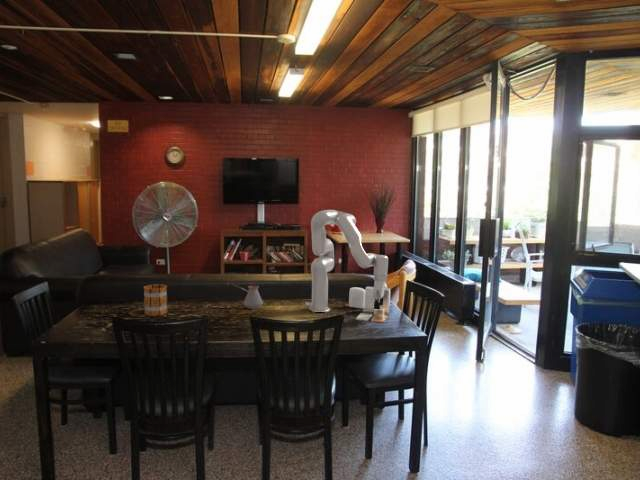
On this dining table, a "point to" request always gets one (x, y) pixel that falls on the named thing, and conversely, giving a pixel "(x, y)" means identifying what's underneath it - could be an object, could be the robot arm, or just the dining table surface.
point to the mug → (155, 299)
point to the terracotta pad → (379, 319)
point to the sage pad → (364, 316)
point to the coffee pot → (251, 297)
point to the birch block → (379, 313)
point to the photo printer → (357, 297)
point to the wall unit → (370, 300)
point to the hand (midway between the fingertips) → (378, 307)
